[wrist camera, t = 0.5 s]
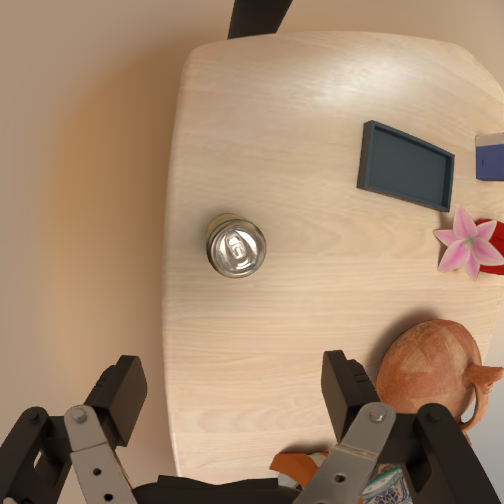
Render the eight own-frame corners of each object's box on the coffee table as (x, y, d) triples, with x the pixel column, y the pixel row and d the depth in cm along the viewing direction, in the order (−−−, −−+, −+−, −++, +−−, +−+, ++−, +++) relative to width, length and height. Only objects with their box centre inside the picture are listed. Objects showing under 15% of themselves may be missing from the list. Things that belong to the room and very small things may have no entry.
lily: (435, 189, 41) (455, 209, 33) (492, 204, 39) (518, 225, 30) (419, 256, 47) (432, 286, 39) (473, 266, 44) (492, 295, 36)
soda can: (216, 262, 37) (223, 291, 25) (198, 224, 36) (196, 236, 24) (254, 244, 37) (278, 265, 25) (237, 206, 36) (254, 209, 24)
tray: (356, 187, 38) (364, 187, 36) (364, 123, 37) (371, 119, 35) (440, 211, 41) (449, 212, 39) (446, 155, 40) (454, 154, 37)
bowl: (387, 493, 54) (402, 516, 44) (300, 510, 49) (311, 540, 40) (432, 425, 50) (455, 448, 41) (339, 441, 46) (360, 476, 36)
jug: (373, 309, 41) (467, 373, 22) (453, 304, 44) (538, 344, 25) (349, 410, 44) (407, 490, 25) (427, 392, 47) (490, 447, 28)
